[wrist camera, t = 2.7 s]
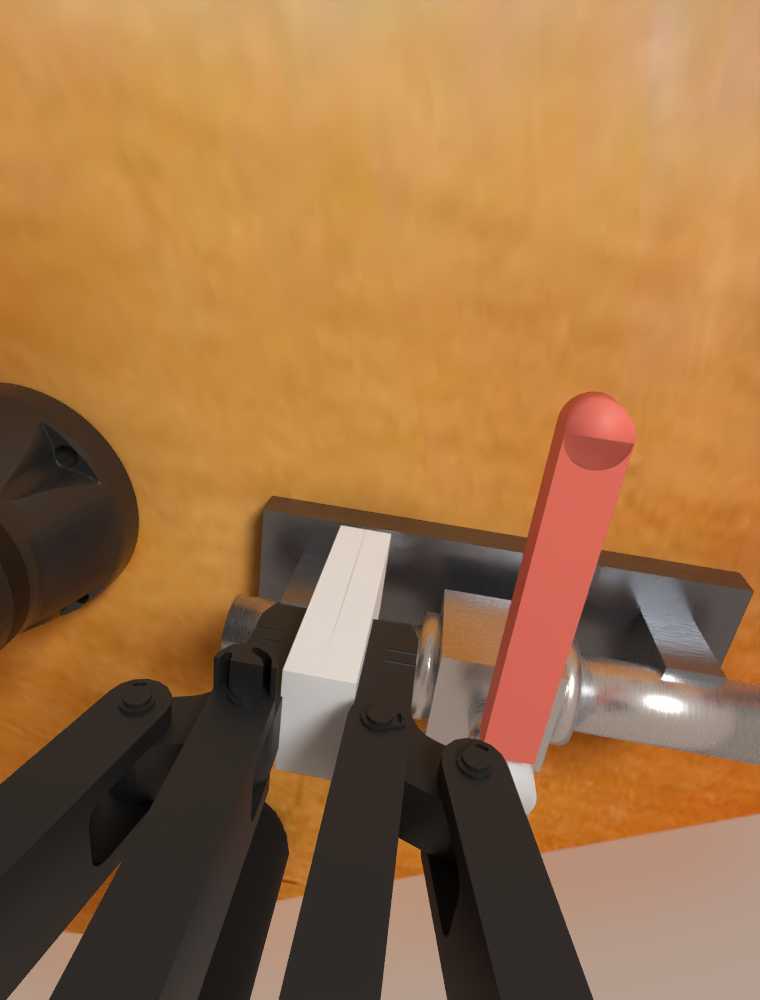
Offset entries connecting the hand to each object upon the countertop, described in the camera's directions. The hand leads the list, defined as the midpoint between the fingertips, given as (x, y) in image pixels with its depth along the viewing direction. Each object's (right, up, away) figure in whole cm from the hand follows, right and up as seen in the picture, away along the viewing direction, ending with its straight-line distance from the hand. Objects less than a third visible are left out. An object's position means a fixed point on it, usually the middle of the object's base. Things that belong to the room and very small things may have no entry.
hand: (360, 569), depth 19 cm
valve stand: (+7, -4, +21) cm, 23 cm away
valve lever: (+7, -3, +6) cm, 10 cm away
